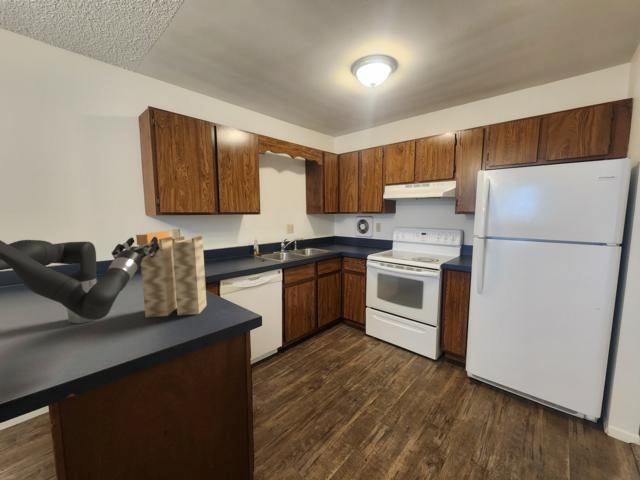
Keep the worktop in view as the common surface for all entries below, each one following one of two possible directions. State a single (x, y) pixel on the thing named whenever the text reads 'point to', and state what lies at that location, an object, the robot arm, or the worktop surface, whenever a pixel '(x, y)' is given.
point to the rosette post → (159, 281)
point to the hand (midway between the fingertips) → (144, 238)
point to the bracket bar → (151, 237)
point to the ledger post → (189, 275)
